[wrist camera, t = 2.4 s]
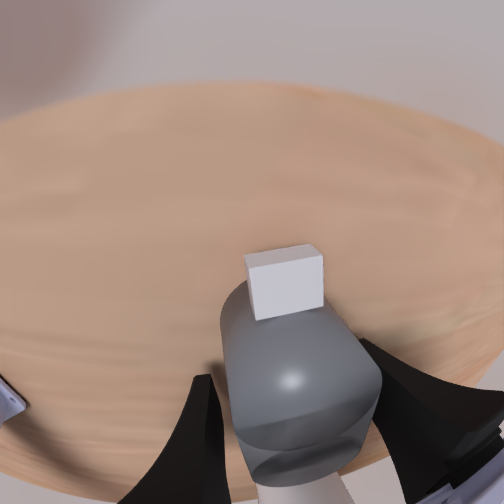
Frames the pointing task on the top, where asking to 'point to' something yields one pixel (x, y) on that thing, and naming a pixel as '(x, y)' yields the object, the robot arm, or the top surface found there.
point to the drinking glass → (307, 492)
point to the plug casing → (294, 371)
